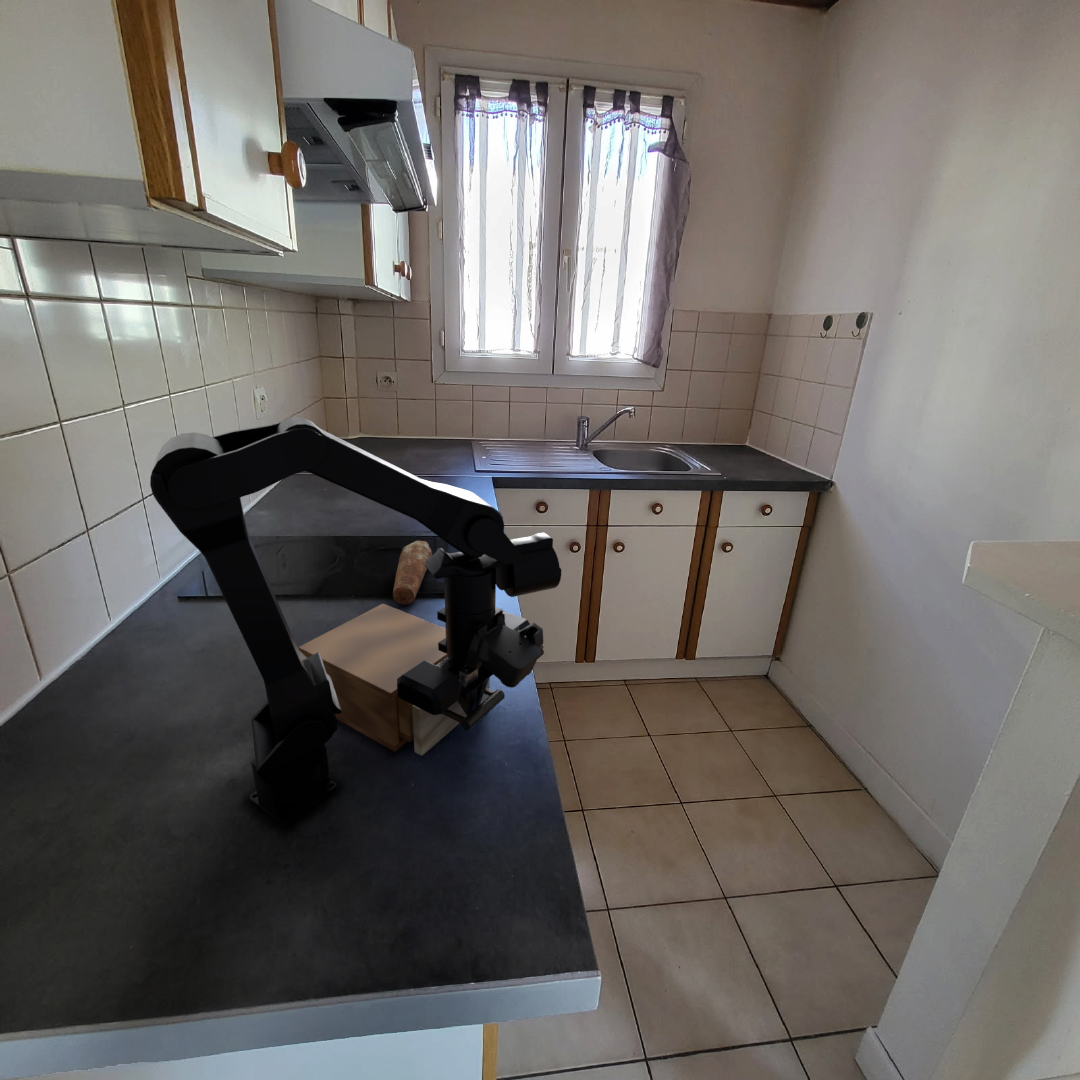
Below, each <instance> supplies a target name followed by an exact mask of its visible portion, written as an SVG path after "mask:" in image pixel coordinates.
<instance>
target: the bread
mask: <svg viewBox="0 0 1080 1080" xmlns="http://www.w3.org/2000/svg"><path fill="white" fill-rule="evenodd" d="M429 545H430V544H429V543H428V542H427V541H425V540H415V541H413V542H411V543H409V544H407V545H405V546H403V547H402V549H401V552H400V555H399V558H398V565H397V568H396V573H395V577H394V585H393V591H392V599H393V600H394V601H395V602H396V603H398V604H400V605H403V606H406V605H410V604H413V602H414V601H415V600H416V597H417V594H418V592H419V589H420V588H421V585H422V582H423V580H424V577H425V574H426V572H427V570H428V569H427V568H426V567H425V565H424V564H425V562H426V561H427V560H428V559H429V558H430V557H431V556H433V551H432V549H431V547H430V546H429Z"/></svg>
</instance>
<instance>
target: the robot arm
mask: <svg viewBox="0 0 1080 1080" xmlns="http://www.w3.org/2000/svg"><path fill="white" fill-rule="evenodd" d="M303 472H307V473H309V474H311V475H314V476H316V477H318V478H321V479H323V480H325V481H328V482H330V483H332V484H335V485H336V486H339V487H341V488H344V489H345V490H348V491H350V492H353V493H354V494H357V495H359V496H361V497H364V498H366V499H368V500H371V501H373V502H374V503H377V504H380V505H381V506H384V507H386V508H389V509H390V510H393V511H395V512H398V513H400V514H402V515H404V516H407V517H409V518H411V519H413V520H414V521H417V522H418V523H420V524H421V525H423V526H424V527H426V529H428V530H429V531H430V532H432V533H433V534H435V535H436V536H437V537H438V538H440V539H441V540H443V541H444V542H445V543H447V544H448V545H450V546H451V547H453V548H454V549H455V550H457V551H456V552H455V551H454V552H446V551H445V550H444V549H443V547H439V548H437V550H436V552H435V553H434V554H432V556H431V557H430V558H429V559H428V560H427V561H426V562H425V564H424V565H425V567H426V568H427V570H428V571H429V573H430V574H431V575H432V577H433V578H434V579H436V580H438V579H443V581H444V584H443V585H444V586H443V587H444V607H443V608H441V609H440V610H438V611H436V618H437V621H440V622H442V623H444V624H445V625H444V626H445V627H444V628H445V630H446V638H445V639H443V640H442V641H440V642H439V643H438V650H439V651H441V652H444V653H446V654H447V658H446V659H444V660H443V661H441V662H440V663H438V664H437V665H434V664H432V663H430V662H427V661H425V660H424V661H422V662H421V663H419V664H418V665H416V666H415V667H413V668H412V669H410V670H409V671H408V672H406V673H405V674H403V675H402V676H400V677H399V678H397V692H398V698H400V699H402V700H404V701H406V702H408V703H410V704H412V705H414V706H416V707H418V708H420V709H422V710H424V711H426V712H428V713H430V714H432V715H439V714H442V713H443V712H444V711H446V710H447V709H448V708H449V707H450V706H452V705H453V704H454V703H455V702H457V701H458V703H459V704H460V706H461V707H462V709H463V711H464V712H465V714H466V715H469V714H470V713H471V712H472V711H473V710H474V709H475V708H477V707H478V706H479V705H480V702H481V700H482V697H483V694H484V691H485V689H486V686H487V684H488V681H489V679H490V678H491V677H492V676H495V677H496V678H497V679H498V680H499V681H500V682H501V684H502V685H503V686H505V687H507V688H510V689H511V688H512V689H513V688H515V687H517V686H518V685H519V684H520V683H521V682H522V681H523V680H524V679H525V678H526V677H527V676H529V675H530V674H531V673H532V672H533V669H534V667H535V665H536V664H537V661H538V660H539V659H540V658H542V656H543V655H545V650H544V629H543V627H541V626H539V625H538V624H537V623H536V622H532V623H530V622H529V620H528V618H524V617H521V616H518V615H517V614H516V615H515V614H513V613H511V612H508V611H505V610H504V609H502V608H500V607H498V606H496V598H497V597H496V596H497V595H496V592H497V591H496V590H497V589H498V590H500V591H504V593H505V594H506V595H507V596H508V597H510V598H515V597H519V596H524V595H528V594H534V593H538V592H543V591H547V590H551V589H555V588H557V587H558V586H559V585H560V583H561V579H562V568H561V565H560V561H559V557H558V554H557V552H556V550H555V548H554V539H553V538H552V537H551V536H550V535H549V534H547V533H546V532H538V533H535V534H532V535H530V536H524V537H518V538H511V539H510V538H509V537H508V535H507V534H506V533H505V532H504V531H505V522H504V516H503V515H502V513H501V512H500V511H499V510H498V509H497V508H495V507H493V506H492V505H491V504H490V503H488V502H487V501H485V500H484V499H483V498H482V497H480V496H478V495H477V494H476V493H475V492H473V491H470V490H467V489H464V488H461V487H457V486H453V485H450V484H447V483H443V482H442V483H440V482H434V481H430V480H426V479H423V478H420V477H418V476H417V475H414V474H412V473H410V472H408V471H407V470H404V469H402V468H400V467H398V466H397V465H394V464H392V463H391V462H388V461H386V460H385V459H382V458H380V457H378V456H376V455H374V454H372V453H370V452H368V451H366V450H364V449H362V448H360V447H358V446H356V445H355V444H352V443H350V442H348V441H346V440H344V439H342V438H340V437H338V436H336V435H333V434H331V433H330V432H328V431H326V430H324V429H322V428H320V427H319V426H317V425H316V424H315V423H314V422H313V421H311V420H309V418H304V417H301V416H297V417H296V416H295V417H294V416H292V417H289V418H287V419H283V420H281V421H278V422H275V423H271V424H266V425H261V426H254V427H249V428H242V429H237V430H232V431H228V432H224V433H220V434H217V435H213V436H210V435H208V434H204V433H199V432H186V433H179V434H178V435H175V436H173V437H170V438H169V439H167V440H166V442H164V443H163V444H162V445H161V447H160V449H159V451H158V452H157V455H156V457H155V460H154V464H153V467H152V470H151V474H150V481H149V487H150V490H151V493H152V496H153V498H154V499H155V501H156V502H157V504H158V505H159V507H160V508H161V509H162V510H163V511H164V514H166V515H167V517H168V518H169V519H170V521H171V522H172V523H173V524H174V526H175V527H176V529H177V531H179V532H180V534H182V536H183V537H185V538H186V540H188V542H190V543H191V544H192V545H193V546H194V547H195V548H196V549H197V550H198V551H199V552H200V554H201V555H202V556H203V557H204V559H205V561H206V563H207V565H208V567H209V569H210V571H211V573H212V575H213V578H214V579H215V582H216V583H217V586H218V588H219V590H220V592H221V594H222V597H223V598H224V600H225V602H226V604H227V607H228V609H229V611H230V613H231V615H232V617H233V619H234V621H235V623H236V625H237V627H238V629H239V631H240V634H241V636H242V638H243V640H244V642H245V644H246V646H247V648H248V651H249V652H250V655H251V657H252V659H253V661H254V664H255V665H256V667H257V670H258V671H259V674H260V676H261V677H262V679H263V683H264V688H265V693H266V698H267V701H265V703H264V704H263V705H261V708H260V709H258V710H257V712H256V713H255V714H254V715H253V716H252V717H251V729H252V739H253V748H254V758H253V759H251V760H250V764H251V765H250V766H251V770H252V775H253V780H254V786H255V791H254V792H252V793H251V794H250V796H249V801H250V803H251V804H253V805H254V806H256V807H257V808H258V809H259V810H261V811H262V812H264V814H266V815H267V816H269V817H270V818H271V819H272V820H273V821H276V822H277V823H278V824H280V825H281V826H282V827H284V828H289V827H291V826H292V825H294V824H295V823H296V822H297V821H299V820H300V819H301V818H302V817H303V816H305V815H306V814H308V813H309V812H310V811H311V810H312V809H313V808H315V807H316V806H317V805H318V804H320V803H321V802H322V801H323V800H325V799H326V798H327V797H329V796H330V795H331V794H332V793H334V792H335V791H336V790H337V789H338V787H337V782H335V781H334V780H332V779H331V778H329V777H328V776H329V775H330V766H329V757H328V751H327V746H326V745H325V744H326V743H327V742H328V741H330V739H331V738H332V737H333V735H334V733H336V731H337V730H338V719H336V715H335V714H340V713H342V711H341V708H340V705H339V702H338V698H337V695H336V692H335V689H334V686H333V683H332V680H331V677H330V676H329V675H328V674H327V673H326V670H325V667H324V664H323V661H322V658H321V655H320V652H317V653H315V654H314V655H312V656H310V657H308V658H307V657H306V656H305V655H304V654H303V653H302V652H301V651H300V650H299V649H298V647H299V646H298V645H297V643H296V641H295V639H294V636H293V633H292V631H291V629H290V627H289V624H288V623H287V620H286V617H285V615H284V613H283V611H282V609H281V606H280V604H279V601H278V599H277V597H276V595H275V591H274V590H273V587H272V585H271V583H270V581H269V578H268V576H267V573H266V571H265V568H264V566H263V564H262V562H261V559H260V557H259V554H258V552H257V550H256V548H255V544H254V543H253V541H252V538H251V536H250V533H249V531H248V528H247V523H246V517H245V512H244V508H243V502H242V498H243V497H246V496H249V495H252V494H255V493H258V492H260V491H262V490H264V489H266V488H268V487H270V486H272V485H274V484H277V483H278V482H281V481H283V480H284V479H286V478H289V477H291V476H293V475H297V474H300V473H303ZM490 680H491V679H490Z"/></svg>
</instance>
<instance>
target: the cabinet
mask: <svg viewBox="0 0 1080 1080" xmlns="http://www.w3.org/2000/svg"><path fill="white" fill-rule="evenodd" d="M445 638H446V630H445V627H443V626H440V625H439V624H435V623H433V622H430V621H427V620H425V619H423V618H420V617H417V616H415V615H413V614H410V613H407V612H405V611H403V610H400V609H398V608H395V607H392V606H390V605H388V604H385V603H381V604H379V605H378V606H375V607H373V608H371V609H370V610H368V611H366V612H364V613H362V614H360V615H358V616H356V617H354V618H352V619H350V620H348V621H346V622H344V623H342V624H341V625H338V626H336V627H335V628H333V629H331V630H329V631H327V632H325V633H323V634H321V635H319V636H317V637H315V638H313V639H311V640H309V641H308V642H306V643H304V644H302V645H300V646H297V647H298V649H299V650H300V651H301V652H302V653H303V654H304V655H305V656H306V657H307V658H308V657H310V656H312V655H314V654H315V653H317V652H320V655H321V658H322V661H323V664H324V667H325V670H326V673H327V674H328V675H329V676H330V677H331V680H332V683H333V686H334V689H335V692H336V695H337V698H338V702H339V705H340V708H341V711H342V713H340V714H335V715H336V719H337V721H340V722H341V723H343V724H344V725H346V726H348V727H350V728H352V729H354V730H355V731H357V732H359V733H361V734H362V735H364V736H366V737H368V738H370V740H371V739H372V740H373V741H375V742H376V743H378V744H380V745H382V746H383V747H385V748H387V749H389V750H390V751H393V752H394V753H395V752H397V751H398V750H400V749H401V748H402V747H403V746H404V745H405V744H406V743H408V742H409V741H407V740H405V739H404V738H402V737H400V736H399V734H398V719H397V704H396V695H397V694H398V692H397V678H399V677H400V676H402V675H403V674H405V673H406V672H408V671H409V670H410V669H412V668H413V667H415V666H416V665H418V664H419V663H421V662H422V661H424V660H425V661H427V662H430V663H432V664H434V665H437V664H438V663H440V662H441V661H443V660H444V659H446V658H447V654H446V653H444V652H441V651H439V650H438V643H439V642H440V641H442V640H443V639H445Z"/></svg>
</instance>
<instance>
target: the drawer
mask: <svg viewBox="0 0 1080 1080" xmlns="http://www.w3.org/2000/svg"><path fill="white" fill-rule="evenodd" d="M490 681H491V679H489V681H488V684H487V686H486V689H485V691H484V694H483V697H482V700H481V702H480V705H479V706H478V707H477V708H475V709H474V710H473V711H472V712H471V713H470V714H469V715H466V714H465V712H464V711H463V709H462V707H461V706H460V704H459V703H458V701H457V702H455V703H454V704H453V705H452V706H450V707H449V708H448V709H447V710H446V711H444V712H443V713H442V714H439V715H432V714H430V713H428V712H426V711H424V710H422V709H420V708H418V707H416V706H414V705H412V704H410V703H408V702H406V701H404V700H402V699H400V698H398V694H397V695H396V704H397V719H398V734H399V736H400V737H402V738H404V739H405V740H407V741H408V742H409V743H411V742H412V741H413V746H414V747H413V749H414V753H416V754H417V755H419V756H424V755H425V754H426V753H427V752H428V751H430V750H431V749H432V748H433V747H434V746H435V745H436V744H438V743H439V742H440V741H441V740H442V739H443V738H445V737H446V736H447V735H448V734H449V733H450V732H451V731H453V729H456V727H457V726H458V725H461V727H462V728H463V729H464V731H470V730H471V729H472V728H473V727H475V726H476V724H478V723H479V722H481V720H482V719H484V718H485V716H486V715H488V714H489V713H490V712H491V711H492V710H493V709H495V707H496V706H498V705H499V704H500V703H501V702H502V701H503V700H504V699H505V697H506V695H505V692H504V691H503V690H502V689H496V690H494V689H491V687H490V686H491V682H490Z"/></svg>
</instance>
